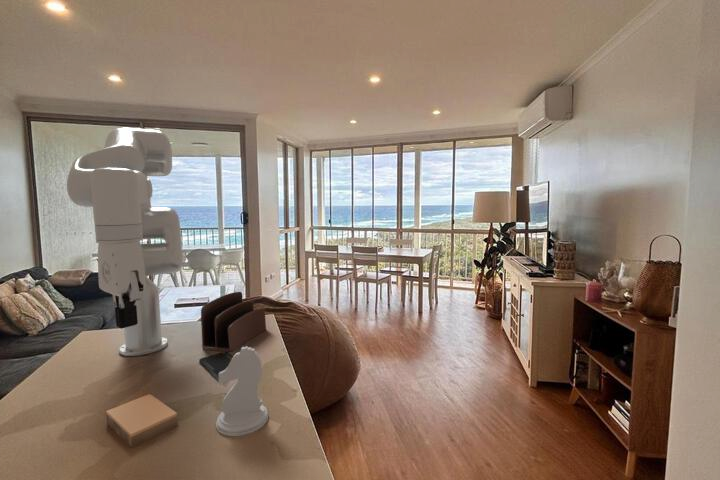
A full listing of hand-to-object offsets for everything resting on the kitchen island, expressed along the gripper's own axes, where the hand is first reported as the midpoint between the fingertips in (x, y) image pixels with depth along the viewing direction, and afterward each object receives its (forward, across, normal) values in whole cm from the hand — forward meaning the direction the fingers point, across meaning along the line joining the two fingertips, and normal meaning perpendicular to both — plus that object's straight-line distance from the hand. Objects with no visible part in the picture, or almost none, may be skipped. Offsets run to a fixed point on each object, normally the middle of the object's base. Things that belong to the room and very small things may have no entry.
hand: (127, 325), depth 71 cm
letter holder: (+20, -19, +38) cm, 47 cm away
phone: (+20, -5, +24) cm, 31 cm away
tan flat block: (+18, -2, 0) cm, 18 cm away
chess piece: (+19, +20, +12) cm, 30 cm away
